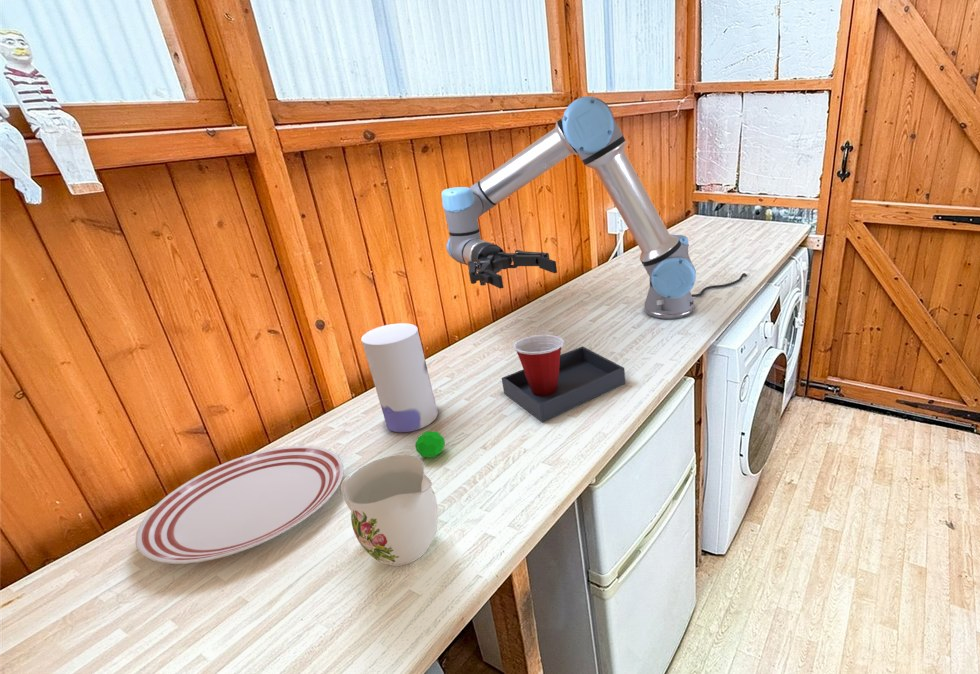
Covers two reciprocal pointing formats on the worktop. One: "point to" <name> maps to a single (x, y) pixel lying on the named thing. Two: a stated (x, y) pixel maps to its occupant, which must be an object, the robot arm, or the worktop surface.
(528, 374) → the plastic cup
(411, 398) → the container
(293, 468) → the dinner plate
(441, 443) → the polyhedron
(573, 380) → the dark grey tray
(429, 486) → the pitcher
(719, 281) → the worktop surface
